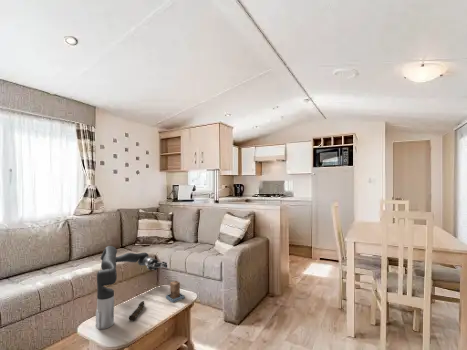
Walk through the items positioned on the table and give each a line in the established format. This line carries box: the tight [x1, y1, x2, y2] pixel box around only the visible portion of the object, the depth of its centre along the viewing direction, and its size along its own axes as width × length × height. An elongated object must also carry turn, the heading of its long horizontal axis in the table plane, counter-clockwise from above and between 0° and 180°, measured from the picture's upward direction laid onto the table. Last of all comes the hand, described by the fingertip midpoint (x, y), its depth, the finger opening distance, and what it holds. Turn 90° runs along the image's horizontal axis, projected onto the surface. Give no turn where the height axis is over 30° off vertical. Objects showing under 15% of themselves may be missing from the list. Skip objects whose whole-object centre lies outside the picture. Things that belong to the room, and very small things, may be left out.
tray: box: [165, 292, 185, 303], centre depth 190 cm, size 10×10×2 cm
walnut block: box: [169, 280, 181, 299], centre depth 190 cm, size 5×5×11 cm
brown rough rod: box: [128, 300, 145, 322], centre depth 169 cm, size 19×4×5 cm, turn 174°
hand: (161, 267), depth 194 cm, fingers open, 8 cm apart
